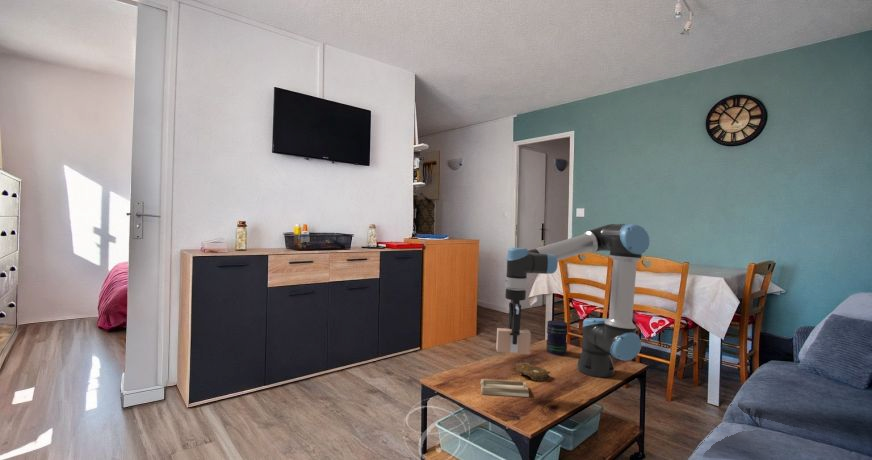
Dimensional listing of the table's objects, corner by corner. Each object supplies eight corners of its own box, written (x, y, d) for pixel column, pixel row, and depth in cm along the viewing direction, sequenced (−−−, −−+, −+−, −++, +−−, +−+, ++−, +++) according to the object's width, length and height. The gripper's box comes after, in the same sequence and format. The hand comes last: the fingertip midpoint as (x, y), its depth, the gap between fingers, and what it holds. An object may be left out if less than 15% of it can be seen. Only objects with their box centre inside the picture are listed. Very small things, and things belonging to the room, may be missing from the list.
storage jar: (550, 355, 191) (551, 325, 191) (543, 349, 200) (544, 320, 200) (570, 355, 191) (571, 325, 191) (562, 349, 201) (563, 320, 201)
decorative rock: (507, 373, 166) (537, 386, 155) (507, 364, 166) (537, 376, 155) (523, 366, 174) (553, 378, 163) (523, 357, 174) (553, 368, 163)
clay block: (527, 350, 149) (528, 330, 149) (529, 354, 145) (530, 332, 145) (496, 348, 150) (497, 327, 150) (497, 352, 146) (498, 330, 146)
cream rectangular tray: (480, 383, 153) (480, 377, 153) (524, 385, 152) (524, 380, 152) (482, 394, 143) (482, 388, 143) (528, 396, 142) (529, 391, 142)
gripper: (503, 284, 156) (500, 343, 156) (508, 291, 139) (505, 357, 139) (521, 285, 156) (519, 344, 156) (530, 292, 139) (527, 358, 139)
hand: (512, 350), depth 147 cm, fingers closed on clay block, 4 cm apart
